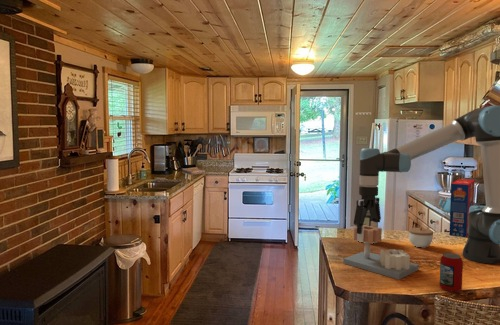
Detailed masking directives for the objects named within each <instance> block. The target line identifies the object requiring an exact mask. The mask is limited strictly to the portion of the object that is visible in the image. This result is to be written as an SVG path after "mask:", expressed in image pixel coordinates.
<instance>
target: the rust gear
mask: <svg viewBox="0 0 500 325" xmlns="http://www.w3.org/2000/svg"><path fill="white" fill-rule="evenodd" d="M363 226H364V242H367V243H368V244H370V245H372V244H373V242H375V243H374V244H377V243H379V242H381V241H382V232H383V230H382V228H381V227H378V228H376V227H375V226H367V225H363ZM352 228H353V229H352V239H353V240H354V241H357V225H355V226H353V227H352Z"/></svg>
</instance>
